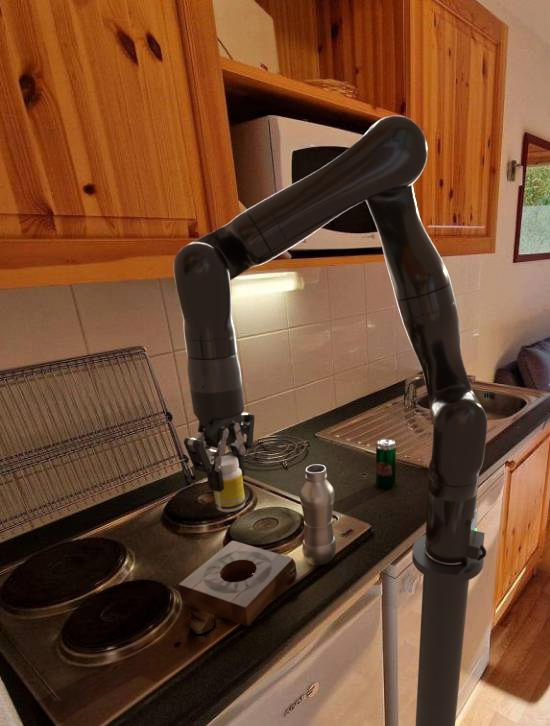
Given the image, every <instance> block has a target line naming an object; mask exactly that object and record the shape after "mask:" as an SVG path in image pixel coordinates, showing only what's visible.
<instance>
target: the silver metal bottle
mask: <svg viewBox="0 0 550 726" xmlns="http://www.w3.org/2000/svg"><path fill="white" fill-rule="evenodd" d="M327 479H328V474H327V467H326V466H325V465H323V464H319V463H318V464H311V465H308V466H307V467H306V468H305V480H306V481H305V482H304V484H303V485H302V488H300V489H301V490H300V492H299V500H300V505H301V509H302V515H303V516H302V517H303V525H304V528H303V529H304V530H303V541H302V548H301V551H302V556H303V558H304V560H305V561H306V562H307V563H308V564H310V565H311V566H324V565H327V564H328V563H330V562H331V561H332V560H333V558H335V556H336V552H337V551H336V550H337V542H336V539H335V535H334V527H333V514H334V513H333V512H334V511H333V510H334V503H335V494H336V493H335V489H334V487H333V485H332V484H331V482H329V481H328V480H327Z"/></svg>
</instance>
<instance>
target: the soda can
mask: <svg viewBox="0 0 550 726" xmlns="http://www.w3.org/2000/svg"><path fill="white" fill-rule="evenodd" d="M396 477H397V444H396V442H395V440H394V439H390V438H382V439H379V440H378V441H377V443H376V446H375V484H376V486H377V487H378V488H380V489H384V490H385V489H391V488H393V487H394V486H395V485H396V483H397V481H396V480H397V478H396Z"/></svg>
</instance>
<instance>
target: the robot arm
mask: <svg viewBox="0 0 550 726" xmlns="http://www.w3.org/2000/svg"><path fill="white" fill-rule="evenodd" d="M428 151H429V150H428V143H427V138H426V136H425V134H424V132H423V130H422V128H421V127H420V126H419V124H417V123H416V122H415V121H413V120H412V119H410V118H408V117H407V116H403V115H390V116H385V117H383V118H381V119H379V120H377V121H376V122H375V123H373V124H372V125H371V126H370V127H369V128H368V130H367V131H366V132H365V133H364V134H363V136H361V137H360V138H359V139H358V140H357V141H356V142H355V143H353V144H352V145H351V146H350V147H349V148H347V149H346V150H345V151H344V152H342V153H341V154H340V155H338V156H337V157H336V158H334V159H332V161H330V162H328V163H326V165H324V166H322V167H321V168H319V169H317V170H315V171H314V172H312V173H310V174H309V175H307V176H305V177H303V178H301V179H299V180H298V181H296V182H294V183H292V184H290V185H288V186H286V187H285V188H283V189H281V190H279V191H277V192H275V193H274V194H272V195H270V196H268V197H266V198H264V199H263V200H261V201H260V202H258V203H256V204H255V205H253V206H251V207H249V208H247V209H245V211H242V212H241V213H239V214H238V215H237V216H235V217H234V218H232V220H231V221H229V222H228V223H227V224H225V225H223V226H221V227H219V228H216V229H215V230H213V231H211V232H209V233H207V234H205V235H203V236H202V237H199V238H198V239H195V240H193V241H192V242H190V243H188V244H186V245H184V246H183V247H181V248H180V249H179V250H178V252H177V253H176V255H175V257H174V260H173V276H174V281H175V288H176V292H177V296H178V302H179V306H180V311H181V315H182V318H183V337H184V343H185V350H186V359H187V378H188V385H189V391H190V396H191V404H192V411H193V415H194V416H195V417H196V419H197V420H198V427H197V433H196V434H195V435H194V436H193V437H185V438H184V439H183V444H184V447H185V449H186V451H187V455H188V456H189V459H190V461H191V464H192V466H193V469H194V470H195V471H200V472H203V473H206V479H207V484H208V485H207V486H208V488H209V489H210V490H211V491H213V492H214V491H217V492H220V491H222V490H223V489H224V486H223V478H222V470H220V469H221V461H222V457H224V456H226V448H228V451H229V454H231V455H230V456H235V457H237V459H238V463H239V468H240V469H241V471H242V478H244V477H245V476H246V469H247V468H246V461H245V460H246V459H245V456H246V455H247V451H248V450H251V449H252V448H253V443H254V431H255V430H254V429H255V418H256V417H255V415H254V414H253V413H250V412H244V410H245V398H244V390H243V382H242V373H241V365H240V361H239V357H238V350H237V341H236V340H237V339H236V331H235V326H234V322H233V318H232V294H231V293H232V292H231V281H232V280H234V279H236V278H237V277H239V276H240V275H242V274H243V273H245V272H247V271H249V270H250V269H251V268H253V267H257V266H261V265H263V264H266V263H268V262H269V261H271V260H273V259H275V258H277V257H278V256H280V255H282V254H283V253H285V252H287V251H288V250H290V249H292V248H294V247H295V246H297V245H298V244H300V243H302V242H303V241H304V240H305V239H307V238H309V237H310V236H312V235H313V234H314V233H316V232H317V231H319V230H320V229H321V228H323V227H324V226H326V225H327V224H329V223H330V222H331V221H333V220H334V219H335V218H338V217H339V216H340V215H342V214H343V213H345V212H347V211H348V210H350V209H352V208H353V207H355V206H358V205H359V204H361V203H363V202H366V204H367V207H368V209H369V212H370V215H371V217H372V219H373V222H374V224H375V227H376V230H377V233H378V236H379V239H380V243H381V246H382V247H381V248H382V252H383V257H384V260H385V264H386V269H387V271H388V275H389V278H390V281H391V286H392V289H393V293H394V294H393V295H394V297H395V300H396V301H395V302H396V305H397V308H398V311H399V314H400V318H401V321H402V324H403V327H404V330H405V332H406V335H407V338H408V340H409V343H410V345H411V347H412V350H413V352H414V354H415V356H416V358H417V360H418V363H419V365H420V368H421V370H422V374H423V379H424V382H425V383H424V384H425V388H426V394H427V399H428V406H429V416H430V420H431V424H432V428H433V429H432V430H433V432H432V449H431V457H430V460H429V462H428V463H429V464H428V481H427V501H426V519H425V520H426V521H425V535H426V539H425V548H424V551H425V554H426V556H427V557H428V558H429V559H430V560H431V561H433V562H435V563H437V564H440V565H444V566H459V565H463V566H467V565H468V563H469V560H470V559H471V558H472V559H476V560H478V561H480V560H481V559H483V558H484V559H485V557H486V556H487V549H486V548H485V546H484V544H485V532H483V531H478V529H477V523H478V515H479V513H478V512H479V511H478V510H479V509H478V508H477V498H478V491H479V490H478V488H479V478H480V471H481V469H482V467H483V464H484V460H485V453H486V445H487V435H488V416H487V413H486V411H485V408H484V407H483V405H482V404H481V402H480V401H479V399H478V398H477V396H476V394H475V392H474V390H473V386H472V384H471V382H470V380H469V377H468V374H467V370H466V368H465V364H464V360H463V356H462V350H461V330H460V320H459V313H458V308H457V301H456V298H455V294H454V289H453V285H452V281H451V277H450V275H449V272H448V269H447V267H446V265H445V262H444V261H443V259H442V257H441V255H440V253H439V252H438V250H437V248H436V247H435V245H434V242H432V239H431V237H429V235H428V233H427V231H426V229H425V226H424V224H423V222H422V219H421V217H420V212H419V208H418V205H417V199H416V196H415V191H414V183H415V182H416V181H417V180H418V179H419V177H420V176H421V175H422V173H423V171H424V169H425V166H426V164H427V160H428ZM245 435H246V438H245ZM244 438H245V439H244ZM212 448H214V449H212ZM215 449H217V450H215ZM212 459H213V460H214V463H212V461H213V460H212ZM481 551H482V554H481V555H480V552H481ZM479 555H480V556H479Z"/></svg>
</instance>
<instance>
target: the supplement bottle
mask: <svg viewBox="0 0 550 726" xmlns="http://www.w3.org/2000/svg"><path fill="white" fill-rule="evenodd" d="M211 463H214V459H213V460H212V461H211ZM220 470H222V478H223V486H224V489H223V490H222V491H220V492H217V491H213V495H214V502H215V507H216V509H217V510H218V511H220V512H224V513H231V512H232V513H233V512H236V511H238V510H241V509H242V508H244V506H245V505H246V496H245V495H246V494H245V487H244V479H243V478H244V477H242V471H241V469H240V468H239V463H238V459H237V457H235V456H231V455H224V457H222V461H221V469H220Z"/></svg>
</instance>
